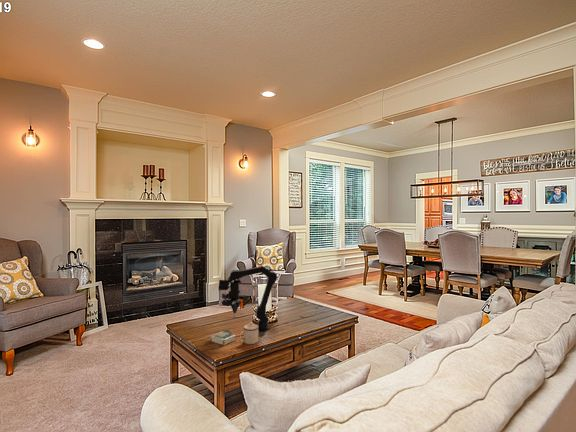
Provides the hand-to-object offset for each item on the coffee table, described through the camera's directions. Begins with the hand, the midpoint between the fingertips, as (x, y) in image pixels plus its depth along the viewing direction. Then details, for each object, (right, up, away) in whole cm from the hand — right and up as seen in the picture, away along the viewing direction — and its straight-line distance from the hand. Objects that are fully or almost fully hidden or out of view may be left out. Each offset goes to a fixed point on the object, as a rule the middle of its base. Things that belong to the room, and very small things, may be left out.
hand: (234, 313), depth 218 cm
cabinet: (-5, -12, -15) cm, 20 cm away
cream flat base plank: (-5, -12, -16) cm, 20 cm away
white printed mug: (+12, -12, -18) cm, 25 cm away
